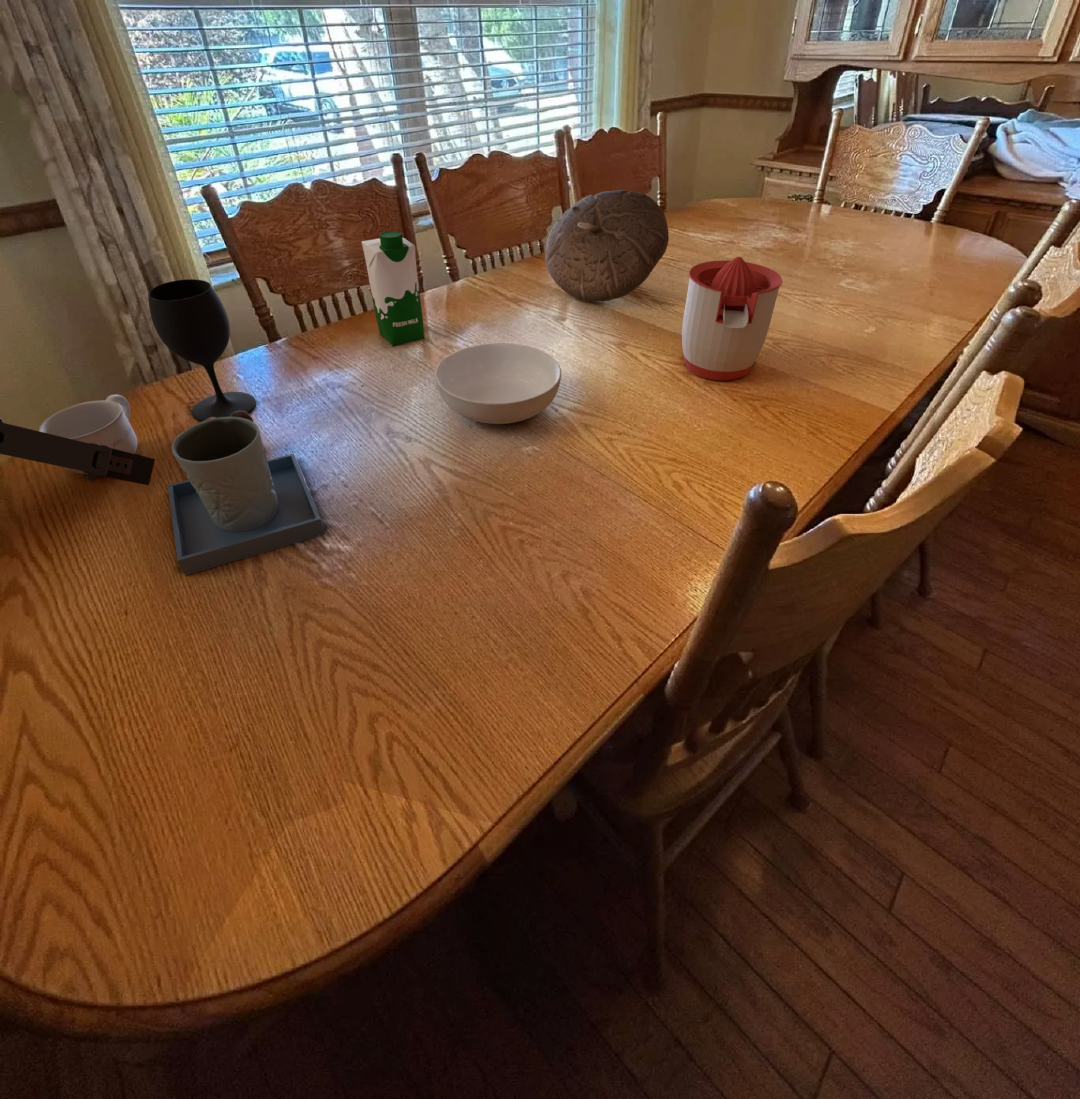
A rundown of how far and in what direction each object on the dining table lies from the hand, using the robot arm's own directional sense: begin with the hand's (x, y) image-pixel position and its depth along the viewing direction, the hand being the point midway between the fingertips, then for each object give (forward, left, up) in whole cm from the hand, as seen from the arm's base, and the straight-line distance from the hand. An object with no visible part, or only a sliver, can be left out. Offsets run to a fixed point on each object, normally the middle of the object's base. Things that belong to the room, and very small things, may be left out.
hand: (94, 459), depth 64 cm
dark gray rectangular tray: (-9, +11, -18) cm, 23 cm away
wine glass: (-41, +12, -18) cm, 47 cm away
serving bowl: (-20, +54, -18) cm, 60 cm away
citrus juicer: (-14, +96, -18) cm, 99 cm away
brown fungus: (-60, +99, -18) cm, 117 cm away
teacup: (-33, -5, -18) cm, 38 cm away
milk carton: (-55, +48, -18) cm, 75 cm away
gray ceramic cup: (-9, +11, -18) cm, 23 cm away
